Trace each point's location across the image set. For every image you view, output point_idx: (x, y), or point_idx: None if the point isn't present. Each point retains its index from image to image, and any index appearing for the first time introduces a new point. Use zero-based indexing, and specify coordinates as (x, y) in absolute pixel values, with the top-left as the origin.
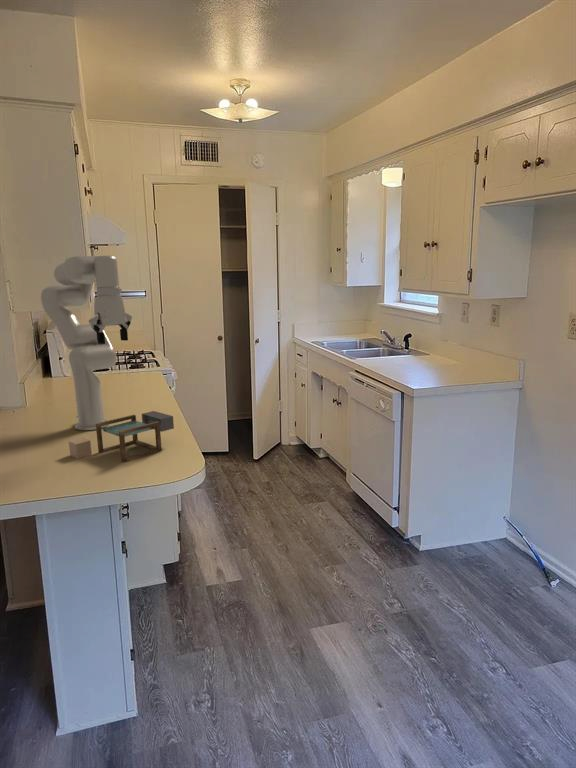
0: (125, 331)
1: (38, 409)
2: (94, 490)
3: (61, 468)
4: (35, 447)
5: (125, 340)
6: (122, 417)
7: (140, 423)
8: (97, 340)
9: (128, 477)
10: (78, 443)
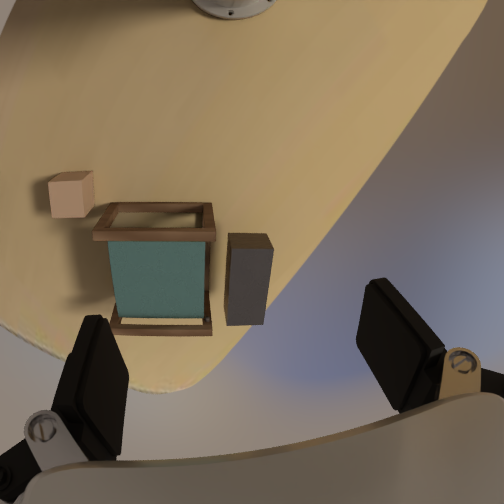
0: (389, 400)
1: None
2: (50, 346)
3: (28, 232)
4: (42, 48)
5: (360, 329)
6: (175, 233)
7: (196, 279)
8: (69, 354)
9: None
10: (57, 217)
